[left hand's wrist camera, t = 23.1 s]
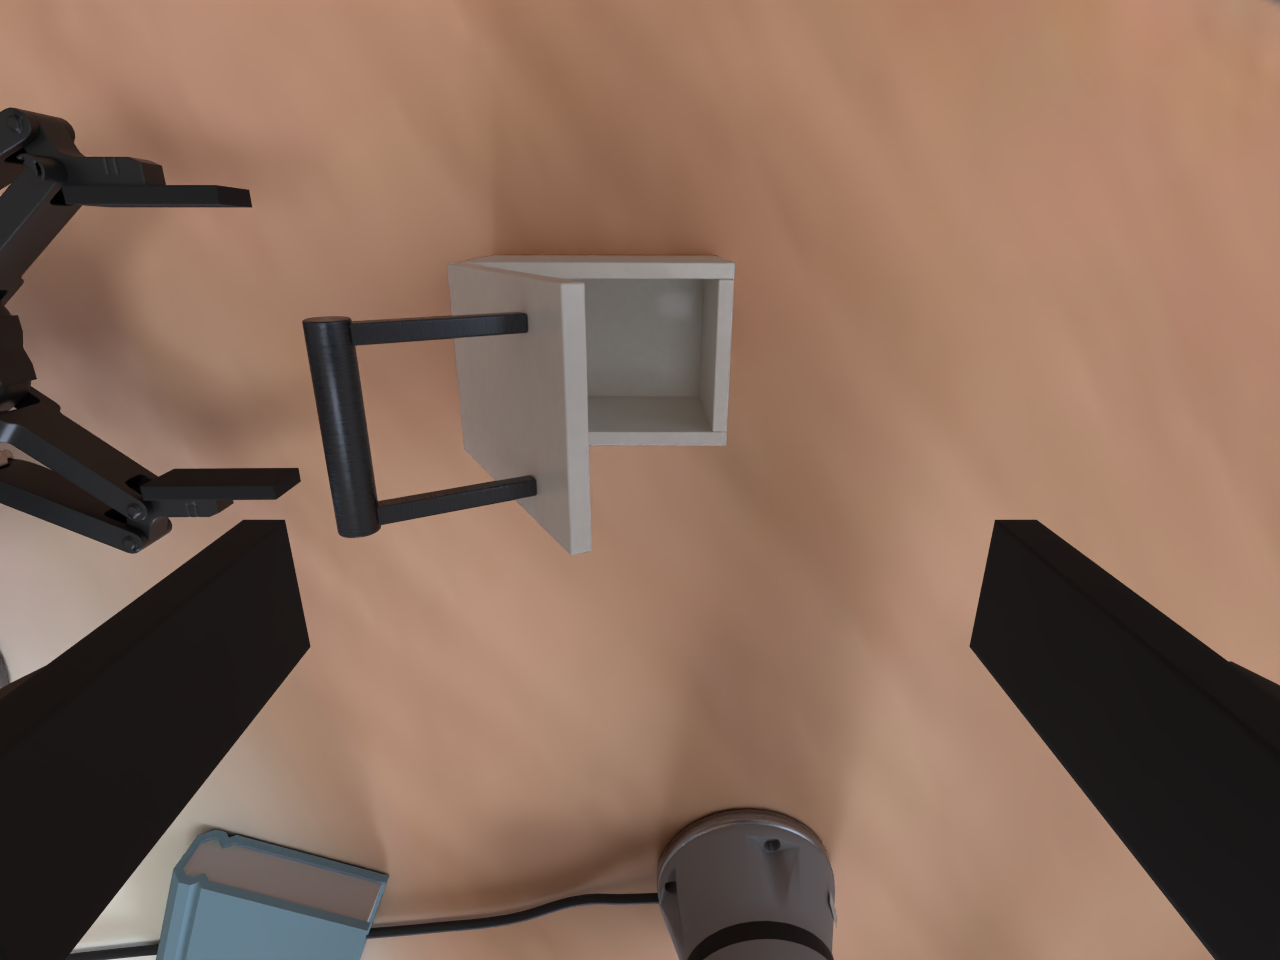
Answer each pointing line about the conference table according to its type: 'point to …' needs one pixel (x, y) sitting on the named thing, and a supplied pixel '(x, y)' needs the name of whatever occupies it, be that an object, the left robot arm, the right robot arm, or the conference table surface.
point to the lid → (474, 402)
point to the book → (265, 904)
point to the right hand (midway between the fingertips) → (264, 349)
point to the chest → (650, 343)
